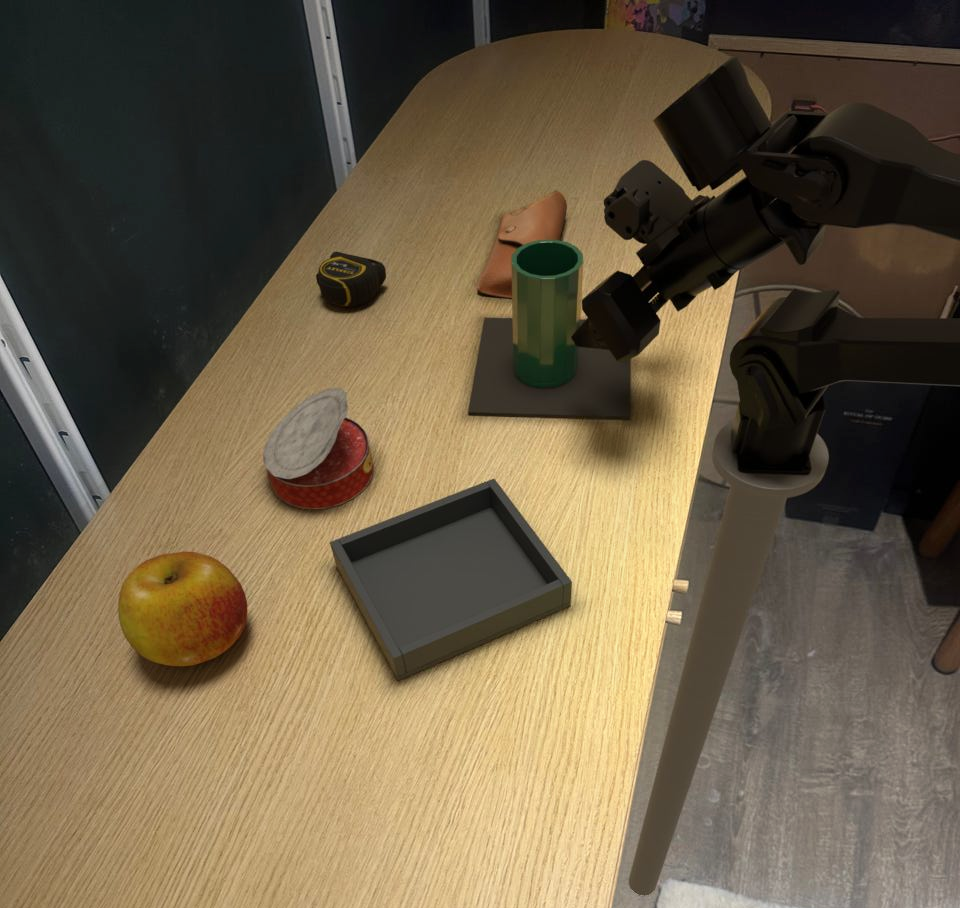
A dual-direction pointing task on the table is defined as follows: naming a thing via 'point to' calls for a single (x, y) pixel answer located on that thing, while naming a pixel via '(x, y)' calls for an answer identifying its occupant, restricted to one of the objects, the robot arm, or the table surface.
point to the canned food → (318, 453)
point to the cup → (546, 312)
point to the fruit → (181, 608)
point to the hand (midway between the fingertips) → (600, 316)
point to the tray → (450, 577)
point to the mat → (587, 395)
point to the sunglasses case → (521, 240)
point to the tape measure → (349, 279)
